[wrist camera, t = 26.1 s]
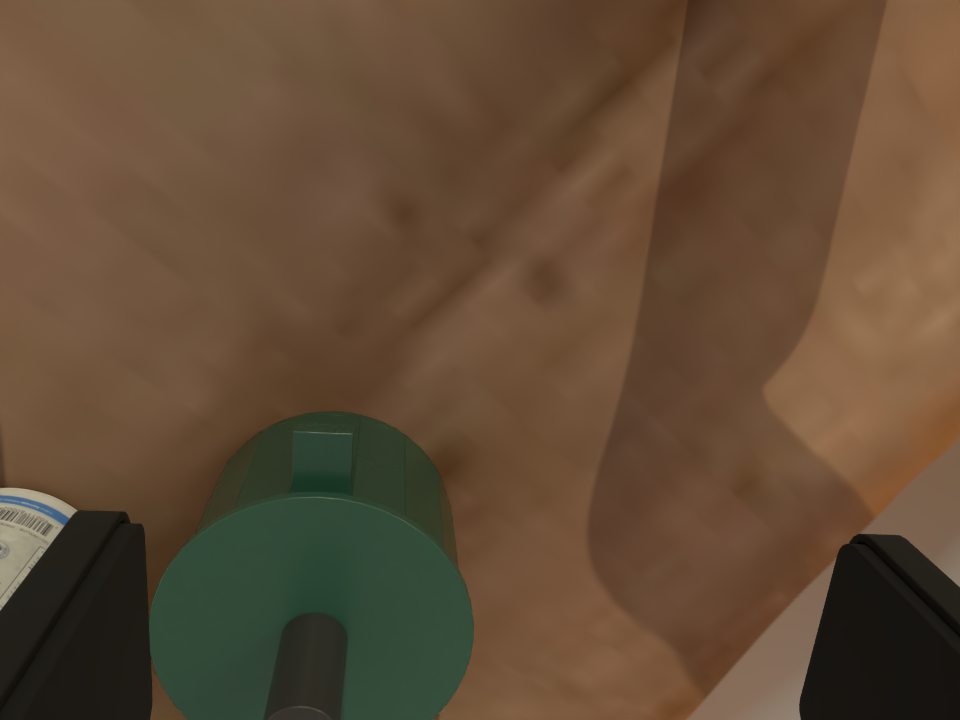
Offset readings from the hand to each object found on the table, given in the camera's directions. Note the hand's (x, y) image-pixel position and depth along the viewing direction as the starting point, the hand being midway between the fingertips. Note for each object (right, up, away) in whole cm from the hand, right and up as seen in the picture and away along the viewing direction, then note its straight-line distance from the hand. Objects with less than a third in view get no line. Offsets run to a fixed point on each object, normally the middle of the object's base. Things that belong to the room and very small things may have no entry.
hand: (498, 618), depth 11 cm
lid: (-7, -8, +24) cm, 27 cm away
